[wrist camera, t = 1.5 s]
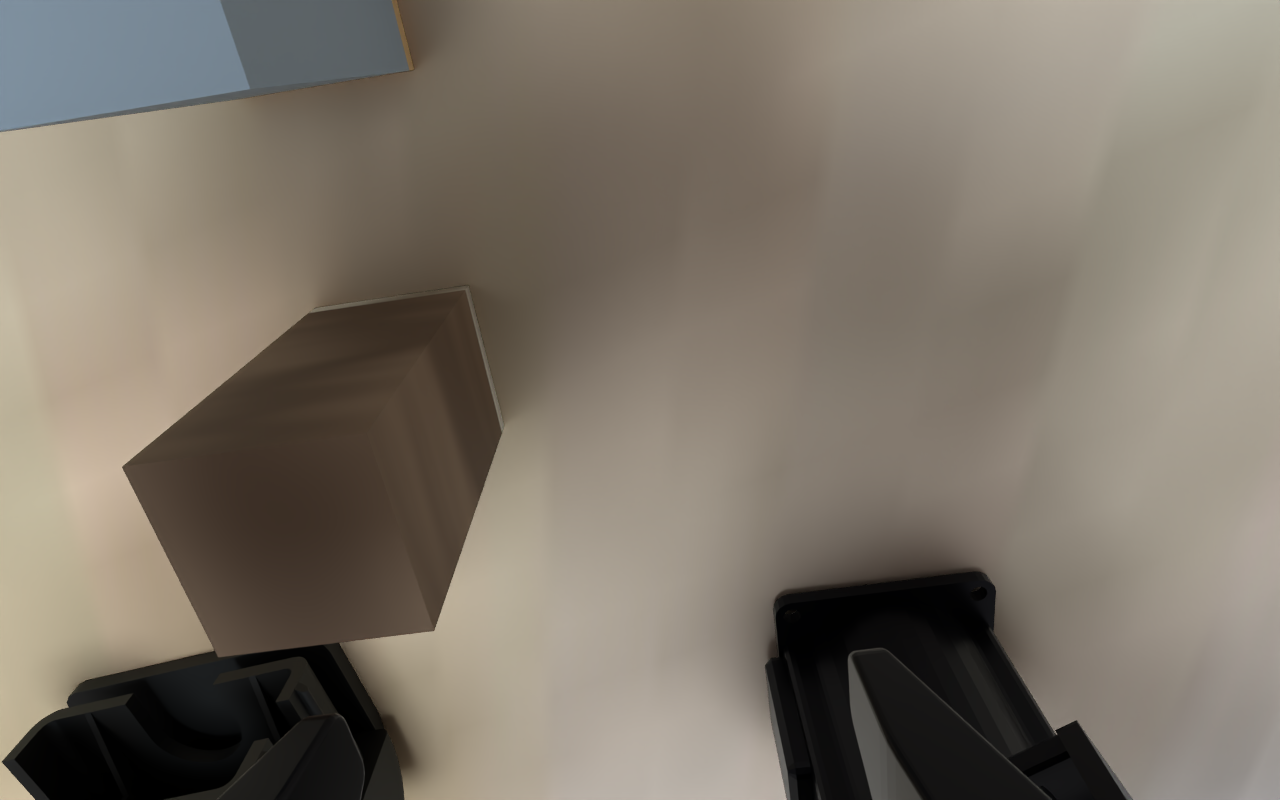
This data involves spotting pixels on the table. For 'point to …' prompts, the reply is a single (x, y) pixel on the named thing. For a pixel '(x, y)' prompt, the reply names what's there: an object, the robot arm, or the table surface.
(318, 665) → the end cap
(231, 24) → the slate block
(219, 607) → the walnut block
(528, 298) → the table surface
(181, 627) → the table surface
